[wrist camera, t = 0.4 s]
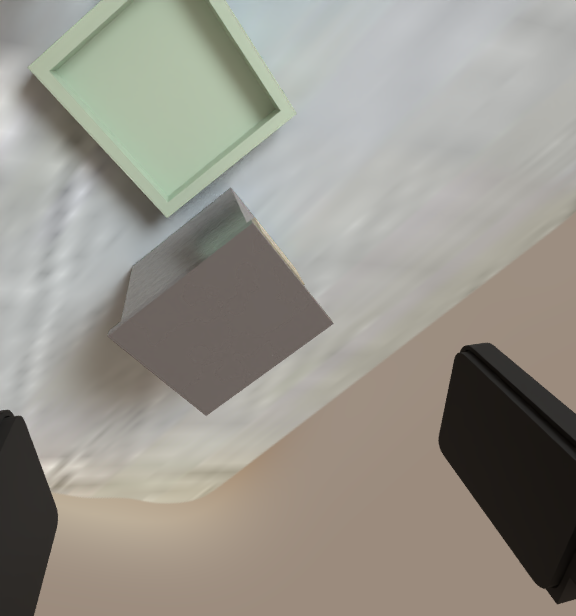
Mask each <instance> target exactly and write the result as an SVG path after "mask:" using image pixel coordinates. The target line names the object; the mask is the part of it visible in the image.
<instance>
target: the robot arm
mask: <svg viewBox="0 0 576 616" xmlns="http://www.w3.org/2000/svg"><path fill="white" fill-rule="evenodd" d="M439 446H440V449H441V452H442V453H443V455H444V456H445V458H446V459H447V461H448V462H449V463H450V465H451V466H452V468H453V469H454V470H455V472H456V473H457V475H458V476H459V477H460V479H461V480H462V482H463V483H464V484H465V486H466V487H467V489H468V490H469V491H470V493H471V494H472V496H473V497H474V498H475V500H476V501H477V502H478V504H479V505H480V507H481V508H482V510H483V511H484V512H485V514H486V515H487V517H488V518H489V519H490V521H491V522H492V524H493V525H494V526H495V528H496V529H497V530H498V532H499V533H500V535H501V536H502V537H503V539H504V540H505V542H506V543H507V544H508V546H509V547H510V549H511V550H512V551H513V553H514V554H515V556H516V557H517V558H518V560H519V561H520V563H521V564H522V565H523V567H524V568H525V570H526V571H527V572H528V574H529V575H530V577H531V578H532V579H533V581H534V582H535V583H536V584H537V585H538V586H540V587H541V588H543V589H545V588H546V590H547V591H548V592H549V594H550V595H551V597H552V598H553V599H554V601H555V602H556V603H557V604H560V603H564V602H567V601H571V600H574V599H576V414H575V413H574V412H573V411H572V410H570V409H569V408H568V407H567V406H566V405H564V404H563V403H562V402H561V401H560V400H558V399H557V398H556V397H555V396H553V395H552V394H551V393H550V392H549V391H548V390H546V389H545V388H544V387H542V385H540V384H539V383H538V382H537V381H536V380H534V379H533V378H532V377H531V376H530V375H528V374H527V373H526V372H525V371H524V370H522V369H521V368H520V367H519V366H517V365H516V364H515V363H514V362H513V361H512V360H510V359H509V358H508V357H507V356H506V355H504V354H503V353H502V352H501V351H500V350H498V349H497V348H496V347H495V346H494V345H492V344H490V343H481V344H473V345H467V346H464V347H463V348H462V349H461V351H460V353H457V355H456V356H455V359H454V364H453V369H452V374H451V379H450V384H449V389H448V394H447V398H446V403H445V409H444V413H443V418H442V423H441V428H440V433H439ZM57 523H58V513H57V508H56V505H55V502H54V499H53V497H52V494H51V491H50V488H49V486H48V483H47V480H46V478H45V475H44V472H43V469H42V467H41V464H40V461H39V459H38V456H37V453H36V450H35V448H34V445H33V442H32V440H31V437H30V434H29V431H28V429H27V426H26V423H25V421H24V419H23V417H22V416H14V415H13V413H12V412H11V411H10V410H2V411H0V616H34V613H35V609H36V605H37V601H38V597H39V594H40V590H41V586H42V582H43V578H44V575H45V570H46V567H47V563H48V559H49V555H50V552H51V548H52V544H53V540H54V536H55V533H56V529H57Z"/></svg>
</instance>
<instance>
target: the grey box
mask: <svg viewBox="0 0 576 616" xmlns="http://www.w3.org/2000/svg"><path fill="white" fill-rule="evenodd" d="M304 285H305V284H304V283H303V281H302V279H301V277H300V276H299V274H298V272H297V271H296V269H295V267H294V266H293V265H292V264H291V262H290V261H289V260H288V258H287V257H286V256H285V255H284V253H283V252H282V251H281V250H280V248H279V247H278V246H277V245H276V243H275V242H274V241H273V240H272V238H271V237H270V236H269V235H268V233H267V232H266V231H265V229H264V228H263V227H262V226H261V224H260V223H259V222H258V221H257V219H256V218H255V217H254V216H253V215H252V213H251V212H250V211H249V210H248V208H247V207H246V206H245V205H244V203H243V202H242V201H241V199H240V198H239V197H238V196H237V194H236V193H235V192H234V191H233V189H232V188H230V189H228V190H227V191H226V192H225V193H223V194H222V195H221V196H220V197H218V198H217V199H216V200H215V201H213V202H212V203H211V204H210V205H208V206H207V207H206V208H205V209H203V210H202V211H201V212H200V213H198V214H197V215H196V216H195V217H193V218H192V219H191V220H190V221H188V222H187V223H186V224H185V225H183V226H182V227H181V228H180V229H178V230H177V231H176V232H175V233H173V234H172V235H171V236H170V237H168V238H167V239H166V240H165V241H163V242H162V243H161V244H160V245H158V246H157V247H156V248H155V249H153V250H152V251H151V252H150V253H148V254H147V255H146V256H145V257H143V258H142V259H141V260H140V261H138V262H137V263H136V264H135V265H133V267H132V271H131V276H130V281H129V286H128V290H127V295H126V300H125V304H124V309H123V314H122V319H121V322H119V323H118V324H117V325H116V326H114V327H113V328H112V329H111V330H109V332H108V337H109V338H110V339H111V340H113V341H114V342H115V343H116V344H118V345H119V346H120V347H121V348H123V349H124V350H125V351H126V352H128V353H129V354H130V355H131V356H133V357H134V358H135V359H136V360H137V361H139V362H140V363H141V364H142V365H144V366H145V367H146V368H147V369H149V370H150V371H151V372H152V373H154V374H155V375H156V376H157V377H159V378H160V379H161V380H162V381H164V382H165V383H166V384H167V385H168V386H170V387H171V388H172V389H173V390H175V391H176V392H177V393H178V394H180V395H181V396H182V397H183V398H185V399H186V400H187V401H188V402H190V403H191V404H192V405H193V406H194V407H196V408H197V409H198V410H199V411H201V412H202V413H203V414H204V415H206V416H207V415H208V414H209V413H211V412H212V411H214V410H215V409H216V408H218V407H219V406H220V405H222V404H223V403H225V402H226V401H227V400H229V399H230V398H232V397H233V396H234V395H236V394H237V393H238V392H240V391H241V390H243V389H244V388H245V387H247V386H248V385H249V384H251V383H252V382H254V381H255V380H256V379H258V378H259V377H261V376H262V375H263V374H265V373H266V372H267V371H269V370H270V369H272V368H273V367H274V366H276V365H277V364H278V363H280V362H281V361H283V360H284V359H285V358H287V357H288V356H290V355H291V354H292V353H294V352H295V351H296V350H298V349H299V348H301V347H302V346H303V345H305V344H306V343H307V342H309V341H310V340H312V339H313V338H314V337H316V336H317V335H318V334H320V333H321V332H323V331H324V330H325V329H327V328H328V327H330V326H331V325H332V324H333V322H332V320H331V319H330V317H329V316H328V315H327V314H326V312H325V311H324V310H323V309H322V308H321V306H320V305H319V304H318V303H317V301H316V300H315V299H314V298H313V296H312V295H311V294H310V293H309V291H308V290H307V289H306V288H305V286H304Z"/></svg>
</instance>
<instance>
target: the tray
mask: <svg viewBox="0 0 576 616" xmlns="http://www.w3.org/2000/svg"><path fill="white" fill-rule="evenodd" d="M28 69H29V70H30V71H31V72H32V73H33V74H34V75H35V76H36V77H37V78H38V79H39V81H40V82H41V83H42V84H43V85H44V86H45V87H46V88H47V89H48V90H49V91H50V92H51V93H52V95H53V96H54V97H55V98H56V99H57V100H58V101H59V102H60V103H61V104H62V105H63V106H64V107H65V109H66V110H67V111H68V112H69V113H70V114H71V115H72V116H73V117H74V118H75V119H76V120H77V122H78V123H79V124H80V125H81V126H82V127H83V128H84V129H85V130H86V131H87V132H88V133H89V134H90V136H91V137H92V138H93V139H94V140H95V141H96V142H97V143H98V144H99V145H100V146H101V147H102V148H103V150H104V151H105V152H106V153H107V154H108V155H109V156H110V157H111V158H112V159H113V160H114V161H115V163H116V164H117V165H118V166H119V167H120V168H121V169H122V170H123V171H124V172H125V173H126V174H127V175H128V177H129V178H130V179H131V180H132V181H133V182H134V183H135V184H136V185H137V186H138V187H139V188H140V189H141V191H142V192H143V193H144V194H145V195H146V196H147V197H148V198H149V199H150V200H151V201H152V202H153V204H154V205H155V206H156V207H157V208H158V209H159V210H160V211H161V212H162V213H163V214H164V215H165V216H166V218H168V217H169V216H170V215H172V214H173V213H174V212H175V211H177V210H178V209H179V208H180V207H182V206H183V205H184V204H185V203H187V202H188V201H189V200H190V199H192V198H193V197H194V196H195V195H197V194H198V193H199V192H200V191H201V190H203V189H204V188H205V187H206V186H208V185H209V184H210V183H211V182H213V181H214V180H215V179H216V178H218V177H219V176H220V175H221V174H223V173H224V172H225V171H226V170H227V169H229V168H230V167H231V166H232V165H234V164H235V163H236V162H237V161H239V160H240V159H241V158H242V157H244V156H245V155H246V154H247V153H249V152H250V151H251V150H252V149H253V148H255V147H256V146H257V145H258V144H260V143H261V142H262V141H263V140H265V139H266V138H267V137H268V136H270V135H271V134H272V133H273V132H275V131H276V130H277V129H278V128H280V127H281V126H282V125H283V124H284V123H286V122H287V121H288V120H289V119H291V118H292V117H293V116H294V115H296V114H297V113H296V112H295V110H294V109H293V107H292V105H291V104H290V102H289V101H288V99H287V97H286V96H285V94H284V93H283V91H282V90H281V88H280V86H279V85H278V83H277V82H276V80H275V78H274V77H273V75H272V74H271V72H270V71H269V69H268V67H267V66H266V64H265V63H264V61H263V59H262V58H261V56H260V55H259V53H258V51H257V50H256V48H255V47H254V45H253V44H252V42H251V40H250V39H249V37H248V36H247V34H246V32H245V31H244V29H243V28H242V26H241V25H240V23H239V21H238V20H237V18H236V17H235V15H234V13H233V12H232V10H231V9H230V7H229V6H228V4H227V2H226V1H225V0H101V1H100V2H99V3H98V4H97V5H96V6H95V7H94V8H93V9H91V10H90V11H89V12H88V13H87V14H86V15H85V16H84V17H83V18H82V19H80V20H79V21H78V22H77V23H76V24H75V25H74V26H73V27H72V28H71V29H69V30H68V31H67V32H66V33H65V34H64V35H63V36H62V37H61V38H60V39H58V40H57V41H56V42H55V43H54V44H53V45H52V46H51V47H50V48H49V49H47V50H46V51H45V52H44V53H43V54H42V55H41V56H40V57H39V58H38V59H36V60H35V61H34V62H33V63H32V64H31V65H30V66H29V67H28Z"/></svg>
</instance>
